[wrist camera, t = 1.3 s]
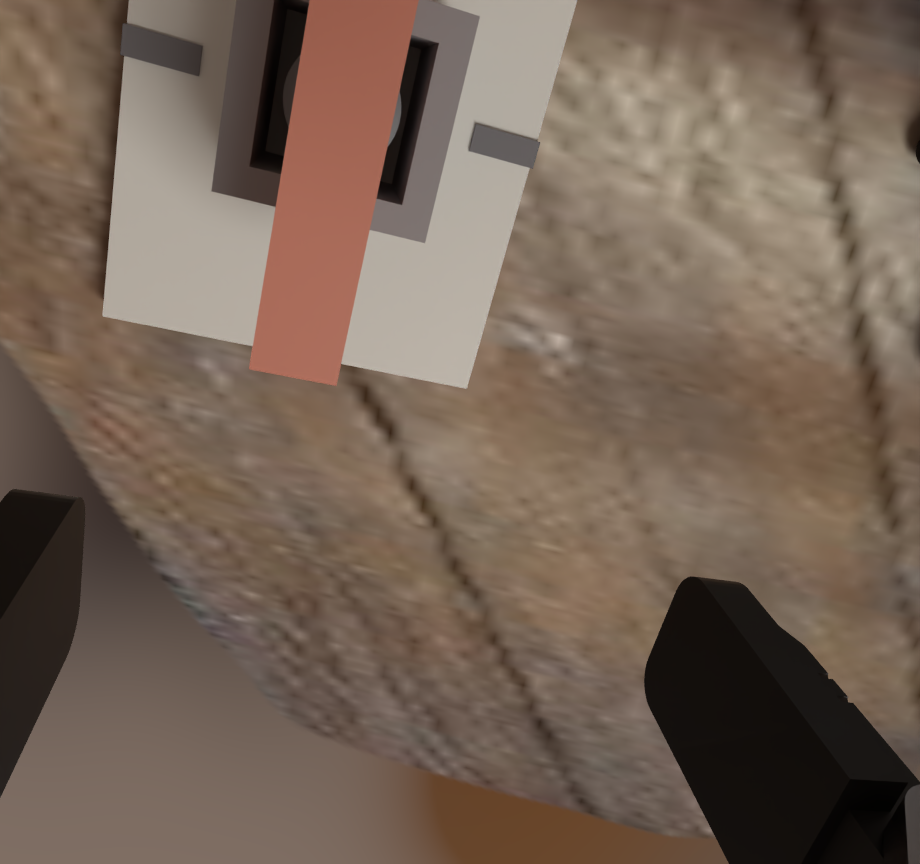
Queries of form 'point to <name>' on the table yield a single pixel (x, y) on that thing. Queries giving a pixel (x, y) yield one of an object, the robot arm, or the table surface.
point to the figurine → (918, 152)
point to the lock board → (250, 223)
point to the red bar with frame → (335, 155)
